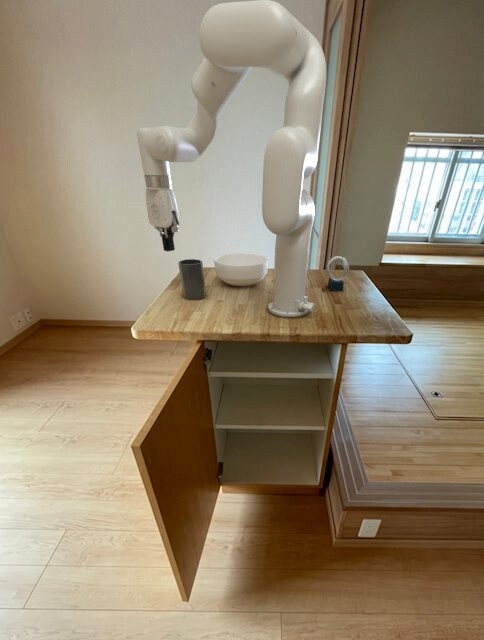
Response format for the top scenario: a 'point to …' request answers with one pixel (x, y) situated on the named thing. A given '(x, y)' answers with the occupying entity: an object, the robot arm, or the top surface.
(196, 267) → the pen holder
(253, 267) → the bowl
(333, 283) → the black block with loop
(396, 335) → the top surface
